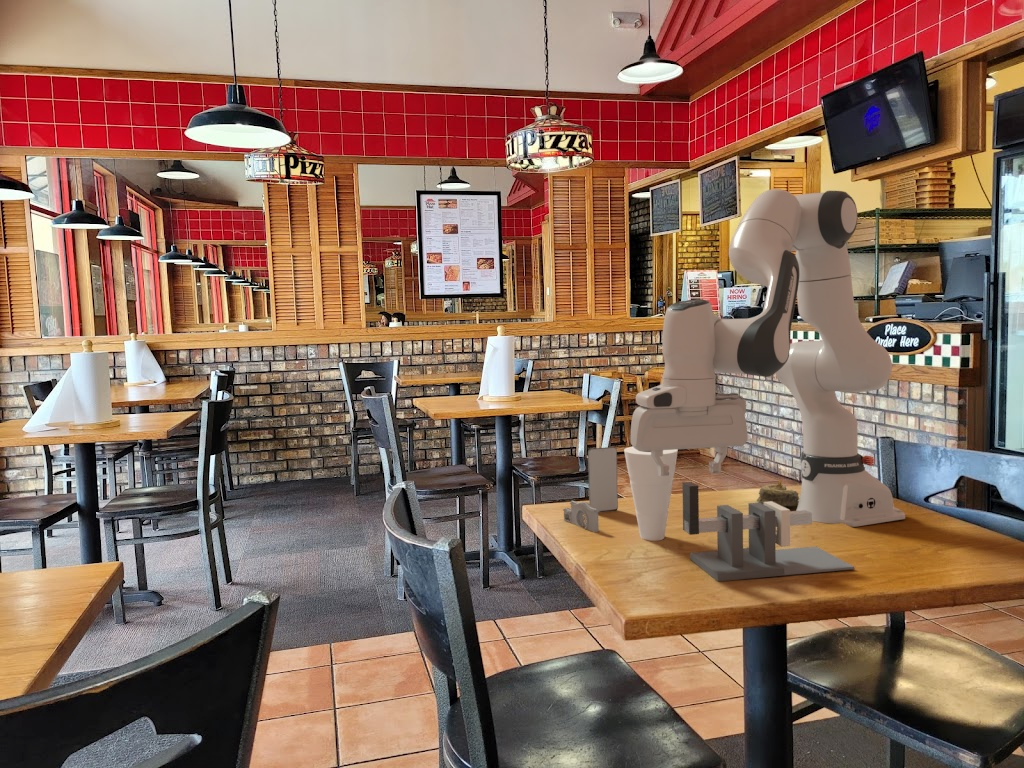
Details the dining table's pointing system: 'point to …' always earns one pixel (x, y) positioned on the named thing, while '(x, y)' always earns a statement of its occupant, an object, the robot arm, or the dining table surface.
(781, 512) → the block
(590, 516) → the grey toothed piece
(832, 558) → the mat
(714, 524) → the shaft
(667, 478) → the cup
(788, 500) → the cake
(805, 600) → the dining table surface
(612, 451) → the smartphone
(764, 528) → the bearing stand
